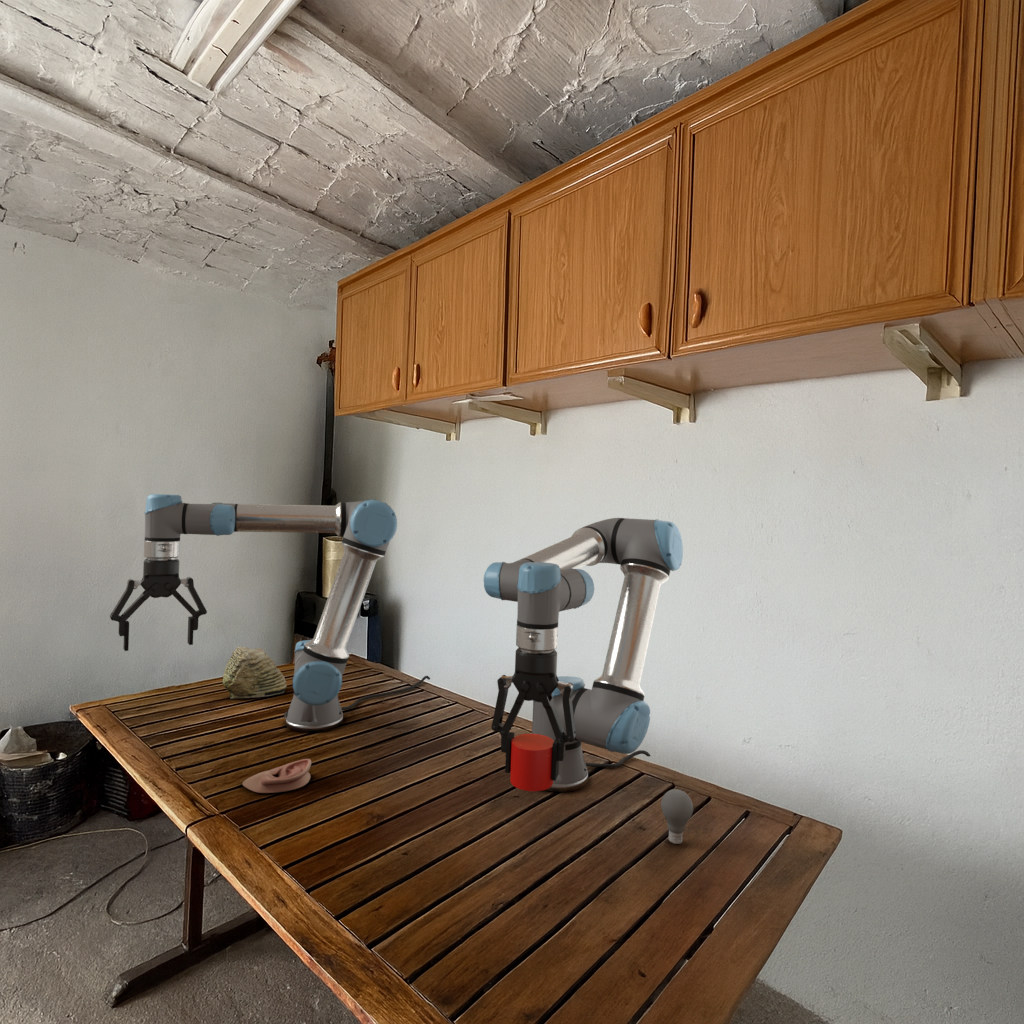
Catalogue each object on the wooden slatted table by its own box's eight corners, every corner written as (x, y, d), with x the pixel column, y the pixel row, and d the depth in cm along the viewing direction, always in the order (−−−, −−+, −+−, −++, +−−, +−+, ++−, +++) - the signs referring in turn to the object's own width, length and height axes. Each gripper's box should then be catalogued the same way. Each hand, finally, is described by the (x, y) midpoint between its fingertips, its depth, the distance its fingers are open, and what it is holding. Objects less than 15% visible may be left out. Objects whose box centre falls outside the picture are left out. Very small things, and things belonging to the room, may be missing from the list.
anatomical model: (234, 771, 135) (265, 750, 146) (233, 789, 135) (265, 767, 146) (290, 779, 132) (318, 757, 143) (290, 798, 132) (317, 775, 143)
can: (520, 794, 110) (522, 752, 109) (503, 775, 117) (504, 736, 117) (560, 787, 113) (562, 747, 112) (541, 769, 120) (543, 731, 120)
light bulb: (655, 834, 124) (657, 783, 124) (684, 834, 125) (687, 783, 124) (665, 851, 118) (667, 798, 118) (696, 851, 119) (698, 798, 118)
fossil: (218, 695, 195) (220, 647, 195) (278, 685, 208) (279, 640, 207) (228, 703, 189) (230, 653, 188) (289, 692, 201) (290, 645, 201)
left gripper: (101, 561, 141) (98, 655, 142) (221, 558, 156) (218, 644, 157) (98, 557, 147) (95, 648, 148) (214, 556, 162) (211, 638, 163)
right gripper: (475, 647, 113) (470, 773, 114) (590, 659, 108) (585, 792, 108) (488, 638, 120) (484, 757, 121) (596, 649, 115) (591, 773, 116)
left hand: (158, 646), depth 152 cm, fingers open, 13 cm apart
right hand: (531, 773), depth 115 cm, fingers closed on can, 8 cm apart
